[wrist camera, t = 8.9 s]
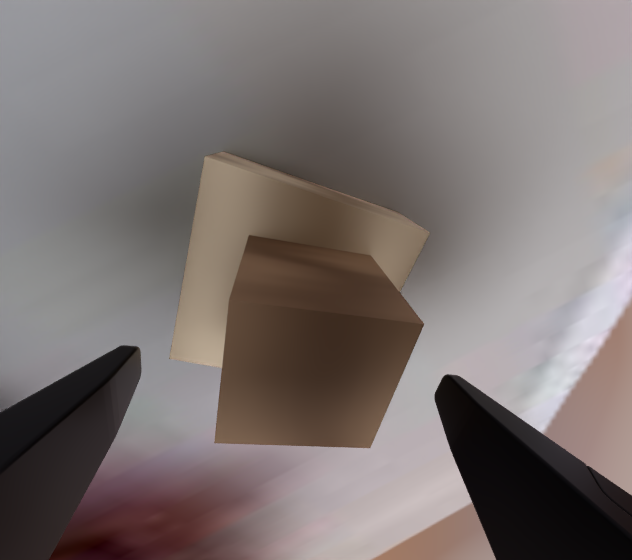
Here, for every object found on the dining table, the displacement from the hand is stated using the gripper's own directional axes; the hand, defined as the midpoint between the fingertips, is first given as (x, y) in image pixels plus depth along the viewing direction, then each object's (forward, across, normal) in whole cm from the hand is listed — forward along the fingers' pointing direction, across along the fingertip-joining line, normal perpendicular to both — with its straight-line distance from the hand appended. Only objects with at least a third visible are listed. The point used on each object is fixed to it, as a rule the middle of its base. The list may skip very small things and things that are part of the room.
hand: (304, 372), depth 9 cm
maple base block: (+8, 0, 0) cm, 9 cm away
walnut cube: (+4, 0, 0) cm, 5 cm away
